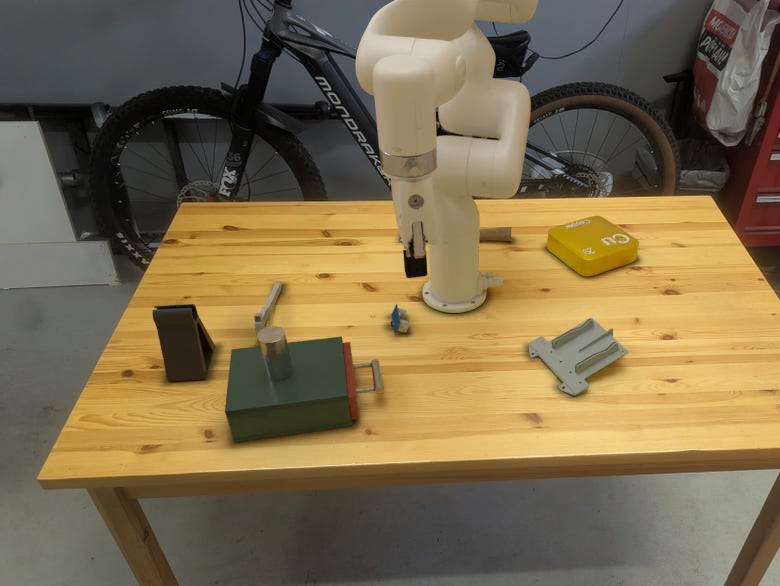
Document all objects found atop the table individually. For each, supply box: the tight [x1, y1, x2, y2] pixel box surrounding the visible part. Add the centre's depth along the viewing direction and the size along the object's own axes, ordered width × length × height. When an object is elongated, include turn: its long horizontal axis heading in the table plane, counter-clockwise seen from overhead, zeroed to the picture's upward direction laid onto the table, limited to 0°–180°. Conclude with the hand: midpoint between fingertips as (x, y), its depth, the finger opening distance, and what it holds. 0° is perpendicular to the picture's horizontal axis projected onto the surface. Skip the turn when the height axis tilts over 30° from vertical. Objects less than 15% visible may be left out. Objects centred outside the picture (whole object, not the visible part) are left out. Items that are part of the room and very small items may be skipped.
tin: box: [256, 325, 293, 381], centre depth 100 cm, size 4×4×8 cm
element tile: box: [546, 215, 640, 277], centre depth 142 cm, size 15×15×5 cm
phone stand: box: [151, 303, 216, 383], centre depth 110 cm, size 9×6×12 cm, turn 6°
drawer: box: [343, 341, 384, 420], centre depth 106 cm, size 21×13×5 cm, turn 102°
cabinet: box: [224, 335, 353, 443], centre depth 105 cm, size 18×15×7 cm
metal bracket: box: [528, 317, 629, 396], centre depth 115 cm, size 14×6×15 cm
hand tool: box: [398, 226, 512, 242], centre depth 148 cm, size 6×3×25 cm
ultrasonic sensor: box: [389, 303, 410, 335], centre depth 122 cm, size 6×2×3 cm, turn 12°
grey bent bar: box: [253, 282, 283, 344], centre depth 123 cm, size 20×1×6 cm, turn 5°
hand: (416, 274), depth 99 cm, fingers closed
